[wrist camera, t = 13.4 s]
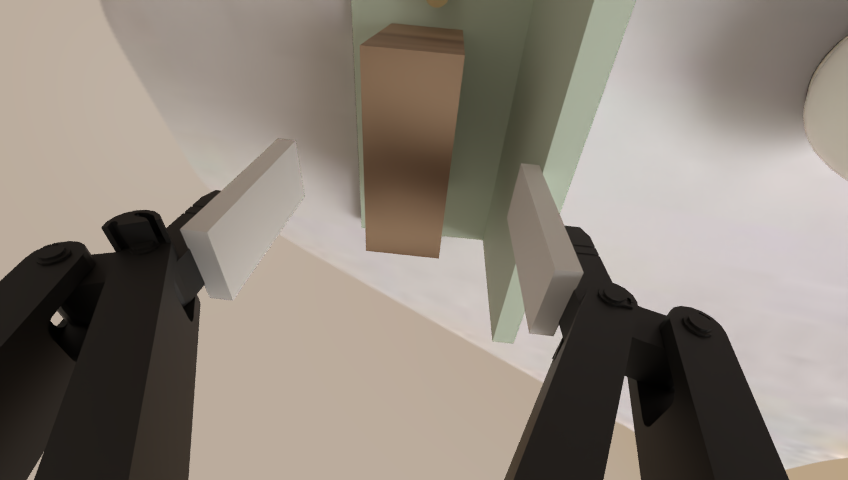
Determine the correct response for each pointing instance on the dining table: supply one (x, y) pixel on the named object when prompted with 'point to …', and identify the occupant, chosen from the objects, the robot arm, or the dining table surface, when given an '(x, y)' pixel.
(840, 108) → the lidded jar
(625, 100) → the dining table surface
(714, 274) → the dining table surface
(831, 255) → the dining table surface
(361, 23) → the ledge
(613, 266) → the dining table surface
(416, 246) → the brown tapered block
